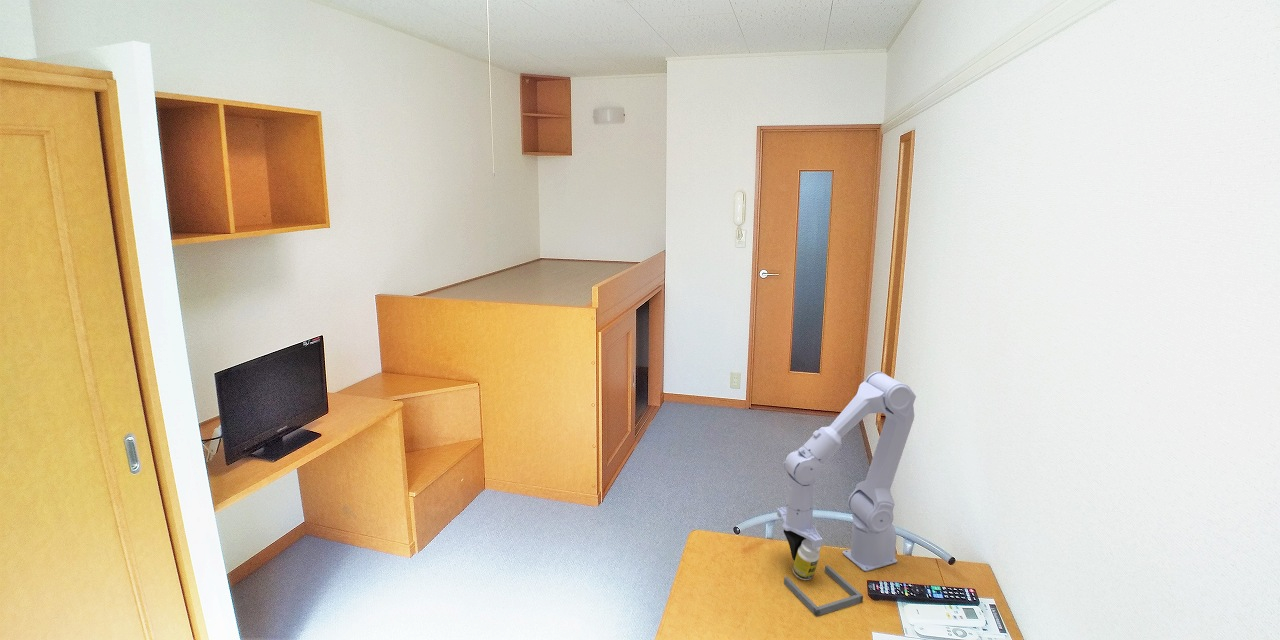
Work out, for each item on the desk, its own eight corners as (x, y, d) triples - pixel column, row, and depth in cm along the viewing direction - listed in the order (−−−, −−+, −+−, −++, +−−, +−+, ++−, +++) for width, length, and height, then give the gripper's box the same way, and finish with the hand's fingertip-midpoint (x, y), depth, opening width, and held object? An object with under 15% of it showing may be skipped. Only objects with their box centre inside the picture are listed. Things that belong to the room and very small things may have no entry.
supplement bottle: (807, 584, 139) (815, 558, 135) (788, 572, 141) (795, 546, 137) (817, 571, 142) (825, 545, 138) (798, 559, 145) (805, 533, 141)
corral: (827, 570, 143) (827, 565, 143) (862, 602, 132) (863, 595, 132) (783, 583, 139) (784, 577, 139) (816, 616, 128) (816, 610, 128)
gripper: (766, 493, 146) (764, 546, 149) (803, 524, 132) (801, 582, 135) (792, 487, 148) (790, 539, 151) (831, 517, 135) (828, 574, 138)
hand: (797, 559), depth 143 cm, fingers closed
